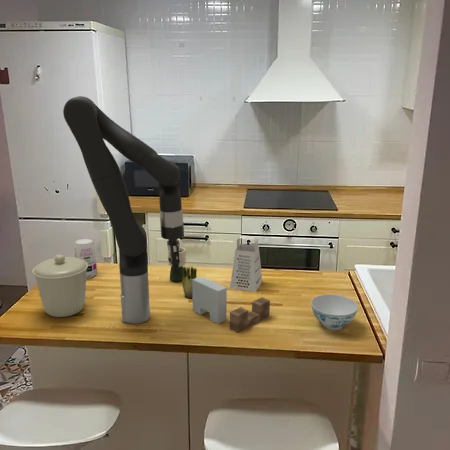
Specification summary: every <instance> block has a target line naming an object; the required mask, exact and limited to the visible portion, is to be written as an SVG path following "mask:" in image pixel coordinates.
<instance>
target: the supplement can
mask: <svg viewBox="0 0 450 450" xmlns="http://www.w3.org/2000/svg"><path fill="white" fill-rule="evenodd" d="M73 249H74V257H75V258H79V259H81V260H84V261H86V262H87V263H88V268H87V269H86V279H92V278H94V277H95V276H96V275H97V274H98V267H97V256H96V255H97V254H96V243H95V242H94V240H93V239H92V238H79V239H77V240H76V241H74V244H73Z"/></svg>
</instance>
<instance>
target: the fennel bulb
mask: <svg viewBox="0 0 450 450" xmlns="http://www.w3.org/2000/svg"><path fill="white" fill-rule="evenodd" d="M182 271H183V279H182V280H181V282H182V283H181V284H182V290H183V294H184V295H185V297H186V298H189V299H191V298H192V299H193V291H192V279H195V278H197V271H198V268H197V267H194V266H186V265H184V266H183V267H182Z"/></svg>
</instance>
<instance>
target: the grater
mask: <svg viewBox="0 0 450 450" xmlns="http://www.w3.org/2000/svg"><path fill="white" fill-rule="evenodd" d="M240 239H244V240H251V241H252V240H253V242H254V244H248V243H247V244H246V243H241V240H240ZM261 264H262V263H261V255H260V246H259V245H258V238H257V236H253V235H252V236H250V235H240V236H239V238H238V239H237V240H236V248H235V249H234V256H233V264H232V270H231V271H232V272H231V276H230V284H229V289H233V290H240V291H247V292H253V293H254V292H255V293H256V292H257V291H258V290H259V287H260V286H261V284H262V282H263V274H262V265H261ZM248 284H249V285H248ZM244 286H245V287H244Z"/></svg>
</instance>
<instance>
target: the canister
mask: <svg viewBox="0 0 450 450" xmlns="http://www.w3.org/2000/svg"><path fill="white" fill-rule="evenodd" d="M87 268H88V263H87V262H86V261H84V260H81V259H79V258H75V256H65V255H64V254H62V253H59V254H56V255H55V256H54V257H52V258H49V259H46V260H42V261H41V262H40V263H38V264H37V265H36V266H34V268H32V269H31V270H32V274H33V276H34V277H35V280H36V285H37V289H38V293H39V296H40V301H41V302H42V303H41V304H42V307H43V310H44V312H46V314H47V315H49V316H51V317H55V318H65V317H71V316H73V315H76V314H78V313H80V312H81V311H82V310H83V308H84V307H85V304H86V303H85V302H86V291H87V290H86V288H87V278H86V269H87Z"/></svg>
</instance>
